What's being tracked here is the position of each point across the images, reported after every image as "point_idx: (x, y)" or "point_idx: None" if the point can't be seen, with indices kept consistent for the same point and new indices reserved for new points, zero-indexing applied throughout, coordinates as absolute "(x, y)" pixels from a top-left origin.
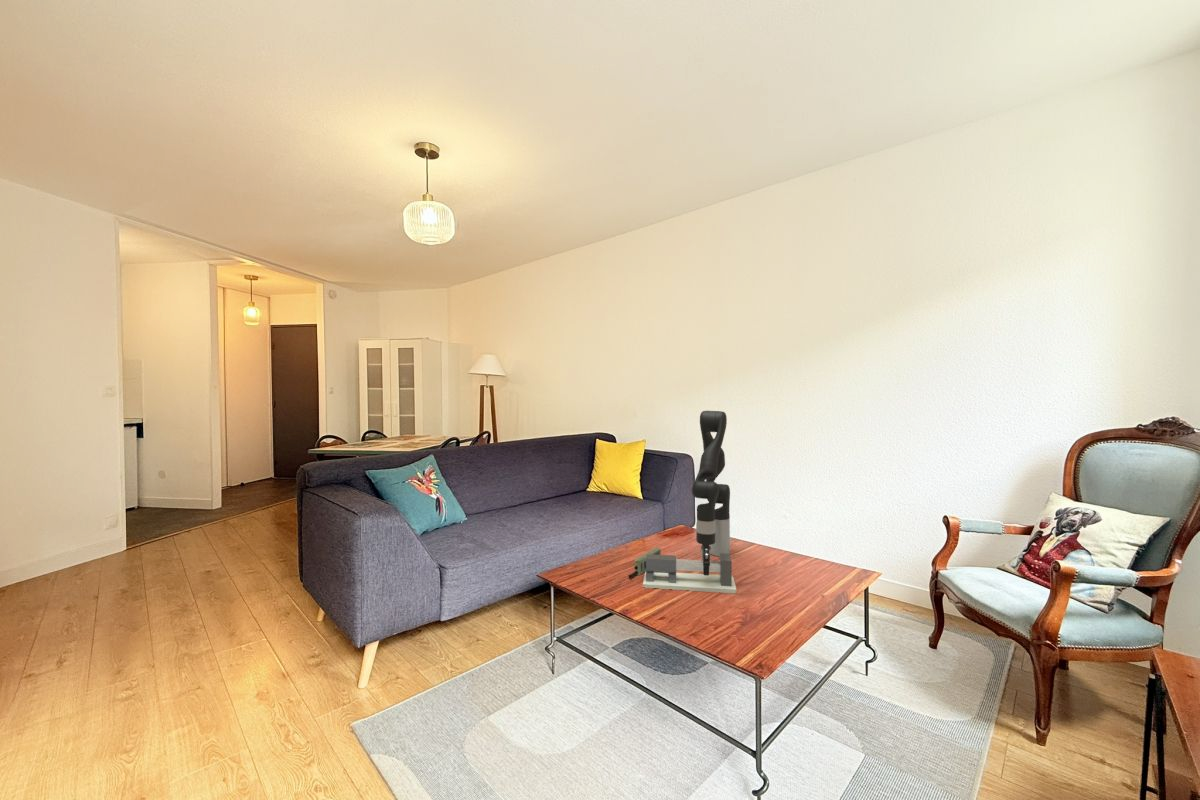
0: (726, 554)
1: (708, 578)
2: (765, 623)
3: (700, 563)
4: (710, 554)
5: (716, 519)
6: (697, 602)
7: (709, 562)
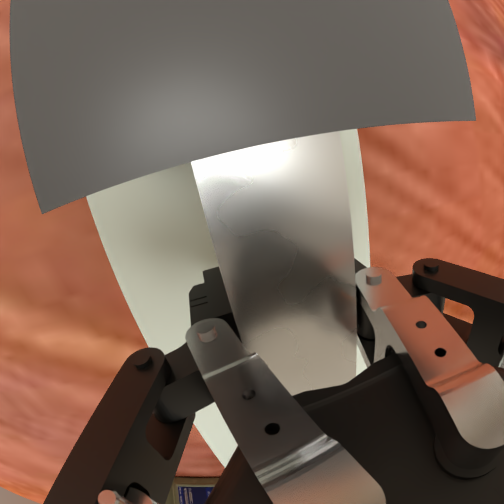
0: (58, 23)
1: (194, 243)
2: (490, 2)
3: (355, 367)
4: (465, 346)
5: None
6: (454, 228)
7: (481, 275)
